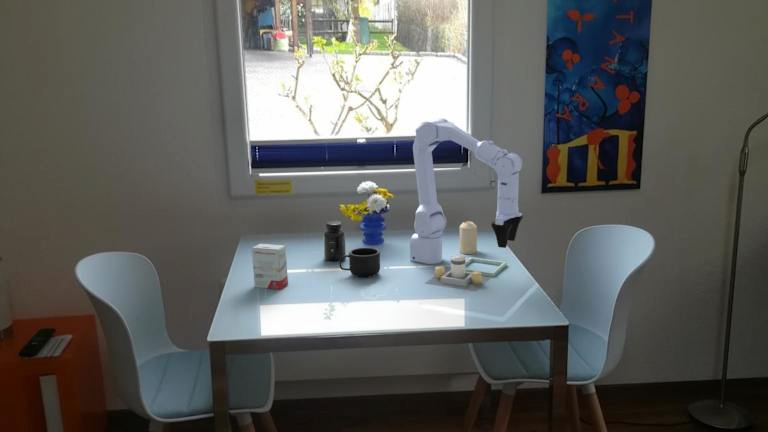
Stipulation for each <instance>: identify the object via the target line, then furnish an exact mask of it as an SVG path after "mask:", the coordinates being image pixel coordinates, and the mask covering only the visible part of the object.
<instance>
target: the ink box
mask: <svg viewBox="0 0 768 432" xmlns="http://www.w3.org/2000/svg"><path fill="white" fill-rule="evenodd" d="M251 254H252V255H251V256H252V271H253V280H254V281H253V283H254V284H253V285H254V288H259V289H260V288H261V289H269V290H270V289H272V290H283V289H284V288H286V287H287V286H288V285H289V281H288V280H289V278H288V264H287V263H288V262H287V260H288V259H287V250H286V245H281V244H271V243H270V244H269V243H258V244H257V245H254V246H253V247H252V248H251Z"/></svg>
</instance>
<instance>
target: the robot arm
mask: <svg viewBox="0 0 768 432" xmlns="http://www.w3.org/2000/svg"><path fill="white" fill-rule="evenodd" d="M444 141H452V142H454V143H456V144H458V145H460V146H462V147H464V148H466V149H467V150H470V151H471V152H474V156H475V159H477V160H479V161H481V162H482V163H484V164H486V165H488V166H490V167H491V168H492V169H494V171H495V173H496V175H497V207H496V214H495V216H496V217H495V221H492V222H491V228H492V230H493V232H494V234H495V238H496V243H497V247H498V248H503V249H506V248H507V245H508V241H512V242H515V240H516V238H517V237H516V236H517V234H518V233H517V232H518V229H519V226H520V223H521V221H522V220H523V217H524V216H523V213H522V212H519V210H520V209H519V189H520V187H519V182H520V181H519V180H520V179H519V178H520V176H519V175H520V171H521V170H522V169H523V165H524V164H523V159H522V158H521V156H520V155H518V154H517V153H516V152H510V153H509V152H508V150H507V149H503V148H501V147H499V146H498V145H495V141H493V140H482V141H480V140H478V139H477V138H475V137H474V136H472V135H470V133H468V132H466V131H465V130H463V129H461V128H460V127H458V126H457V125H456V124H455V123H454V122H452V121H449V120H447V119H446V118H437V119H433V120H428V121H427V120H426V121H423V122H421V123H420V124H419V125H418V127H416V128H415V138H414V142H413V145H412V153H413V162H414V171H415V178H416V187H417V196H418V203H419V204H418V205H419V206H418V207H417V209H416V211H415V214H414V215H415V219H414V223H413V228H414V231H415V233H413V234H412V235H411V239H410V243H409V245H410V246H409V252H410V254H409V257H410V258H409V260H410V262H417V263H422V264H427V265H435V264H440V263H441V262H443V233H444V232H443V231H444V230H445V228H446V225H447V218H446V216H445V214H444V212H443V207H442V206H441V205H440V204H439V203H438V196H437V188H436V180H435V172H434V162H433V153H432V152H433V151H434V149H435V148H437V146H438V145H439V144H440V143H443V142H444Z"/></svg>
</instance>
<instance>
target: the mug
mask: <svg viewBox="0 0 768 432" xmlns="http://www.w3.org/2000/svg"><path fill="white" fill-rule="evenodd" d="M345 257H346V258H348V259H349V261H348V262H349V263H348V264H349V268H348V267H347V268H346V267H343V266H342V263H343V261H342V260H343V258H345ZM338 264H339V268H340V270H341V271H350V273H351V275H353V276H355V277H357V278H361V277H362V278H363V279H367V278H373V277H374V276H377V275H378V274H379V273H380V270H381V251H380V250H379V249H378V248H373V247H357V248H354V249H351V250H350V251H349V253H348V254H346V255H344V256H342V257H341V259H340V262H339V263H338ZM362 278H361V279H362Z"/></svg>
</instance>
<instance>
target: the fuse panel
mask: <svg viewBox="0 0 768 432" xmlns="http://www.w3.org/2000/svg"><path fill="white" fill-rule="evenodd" d="M434 273H435V274H434V276H432V277H431V278H430V279H428V280H427V281H426V282H425V284H427V285H434V286H440V287H444V288H445V287H446V288H447V287H448V288H453V289H460V290H466V291H471V292H476V291H478V289H480V288H481V287H482V286H483V285H485V284H486V283H487V282H488V281H489V280H490V279H491V277H489V276H483V275H482V273H481V272H478V271H474V272H472V273H471V272H465V279H464V280H463V279H456V278H451V269H449V271H447V270H446V267H445V266H443V265H439V266H435V267H434Z"/></svg>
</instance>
